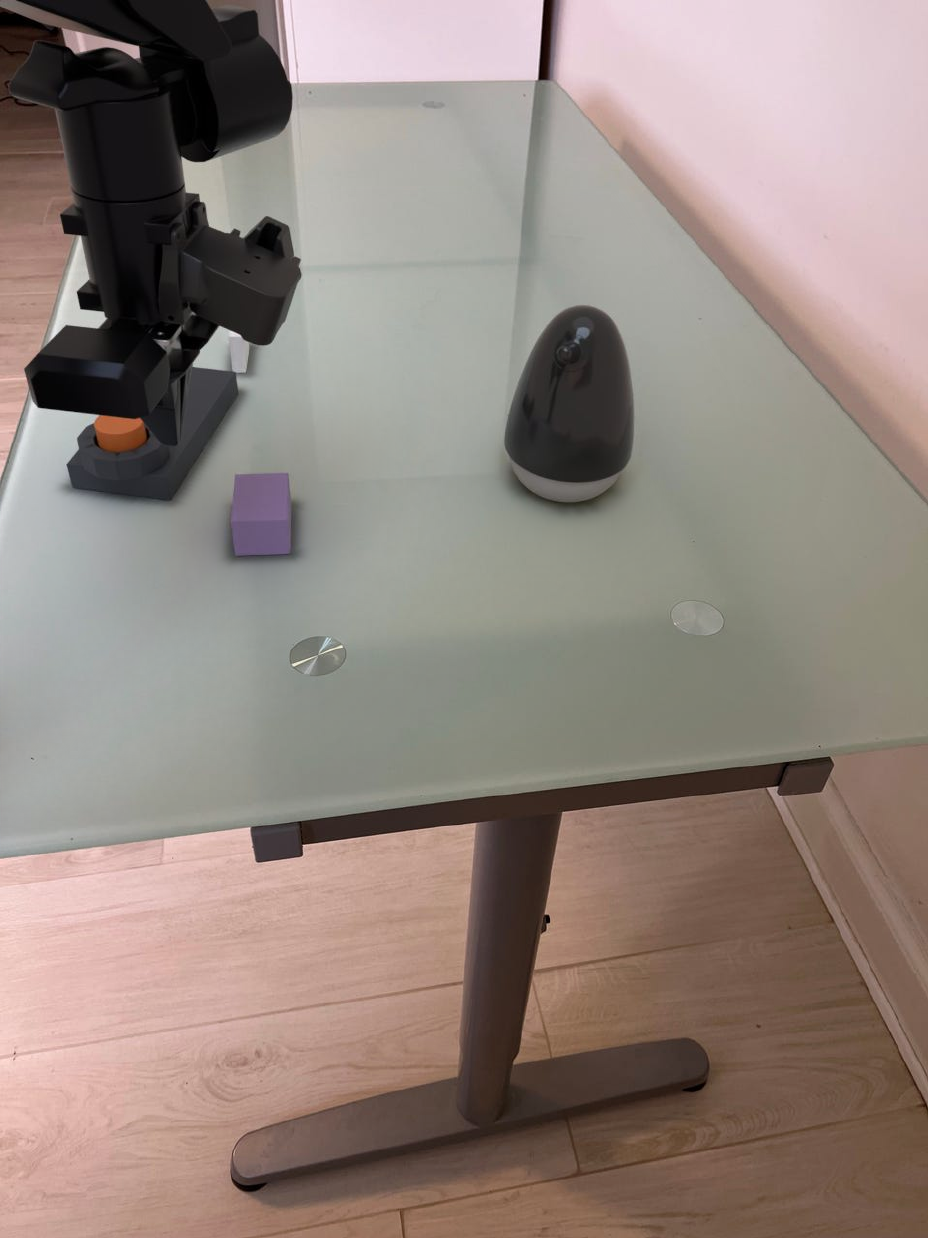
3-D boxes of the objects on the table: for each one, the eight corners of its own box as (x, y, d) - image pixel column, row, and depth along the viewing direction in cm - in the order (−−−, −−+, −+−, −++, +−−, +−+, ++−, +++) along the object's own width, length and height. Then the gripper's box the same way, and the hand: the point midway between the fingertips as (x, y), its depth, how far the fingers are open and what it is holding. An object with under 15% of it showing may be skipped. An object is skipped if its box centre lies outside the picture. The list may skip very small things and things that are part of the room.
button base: (164, 509, 76) (156, 465, 73) (65, 496, 77) (53, 452, 74) (238, 393, 90) (233, 352, 87) (153, 383, 90) (146, 342, 87)
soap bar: (290, 554, 73) (287, 519, 71) (235, 556, 72) (230, 521, 70) (291, 506, 77) (288, 472, 75) (239, 508, 77) (234, 473, 75)
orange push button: (136, 456, 75) (132, 436, 74) (90, 450, 75) (85, 430, 74) (154, 431, 78) (150, 412, 76) (110, 426, 78) (105, 406, 77)
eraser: (232, 372, 92) (228, 336, 90) (236, 348, 96) (232, 312, 93) (246, 372, 92) (242, 336, 90) (249, 348, 96) (246, 312, 94)
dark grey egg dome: (481, 501, 79) (494, 322, 69) (524, 438, 86) (542, 268, 76) (604, 535, 76) (636, 354, 66) (637, 467, 84) (671, 295, 73)
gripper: (223, 270, 44) (254, 548, 54) (322, 145, 58) (331, 385, 68) (-17, 244, 45) (59, 524, 55) (137, 127, 59) (175, 367, 69)
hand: (171, 442), depth 62 cm, fingers closed
